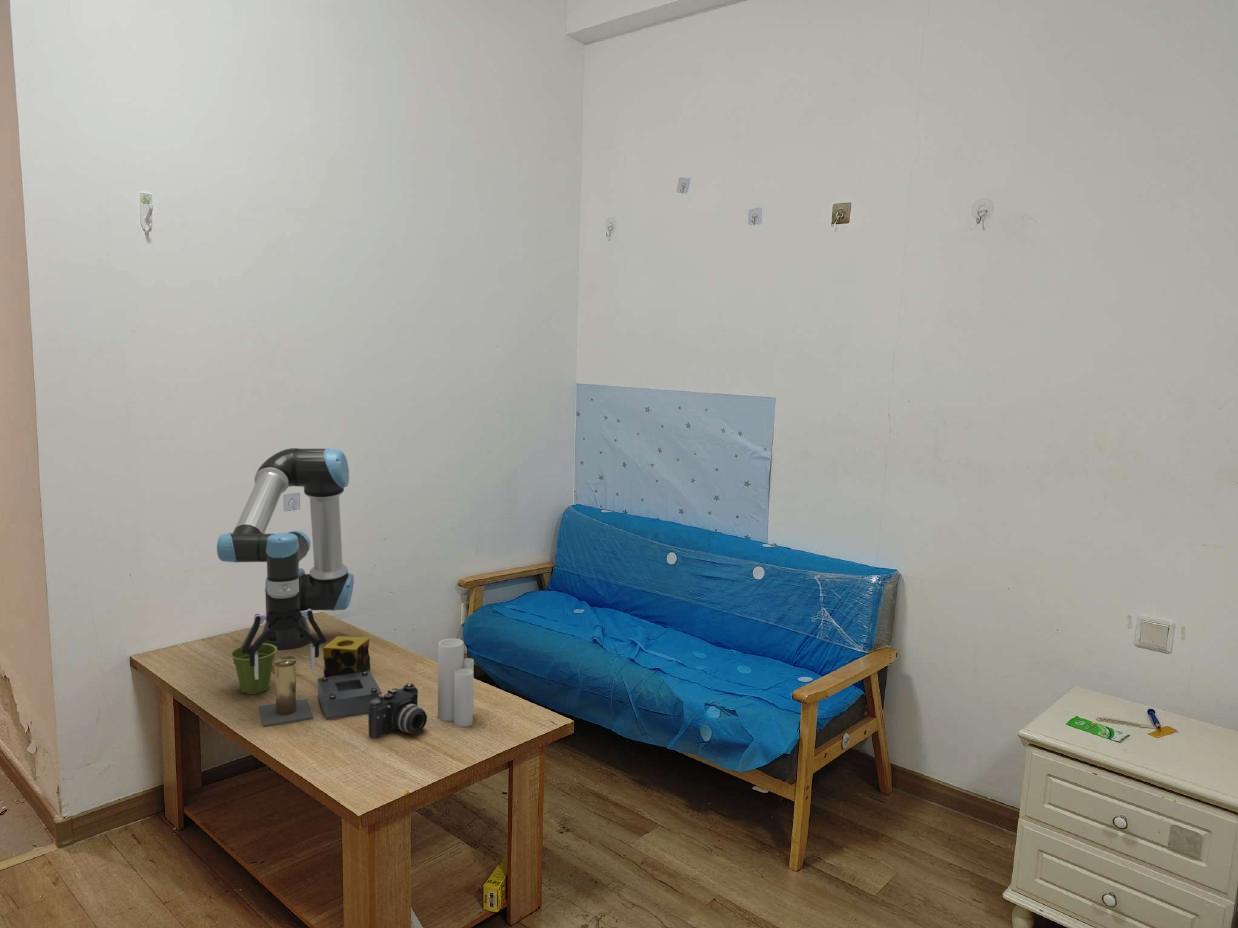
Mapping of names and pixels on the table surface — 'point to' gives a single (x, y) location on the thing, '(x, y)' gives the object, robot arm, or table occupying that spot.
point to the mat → (272, 718)
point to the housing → (347, 694)
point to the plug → (285, 685)
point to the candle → (346, 656)
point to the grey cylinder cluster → (455, 683)
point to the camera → (396, 712)
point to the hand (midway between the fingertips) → (285, 673)
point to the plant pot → (247, 672)
